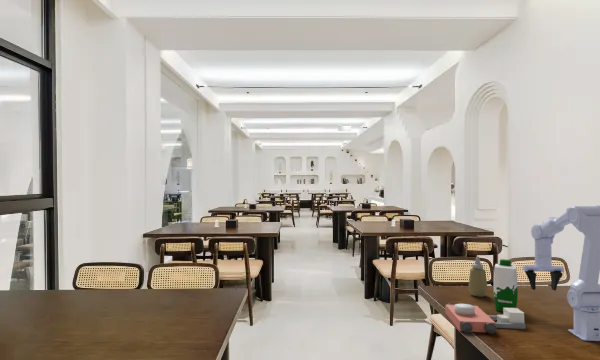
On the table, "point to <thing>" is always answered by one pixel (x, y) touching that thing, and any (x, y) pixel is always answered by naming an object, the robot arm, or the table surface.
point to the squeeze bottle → (477, 279)
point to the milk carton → (505, 285)
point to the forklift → (476, 319)
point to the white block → (511, 316)
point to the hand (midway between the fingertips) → (543, 289)
